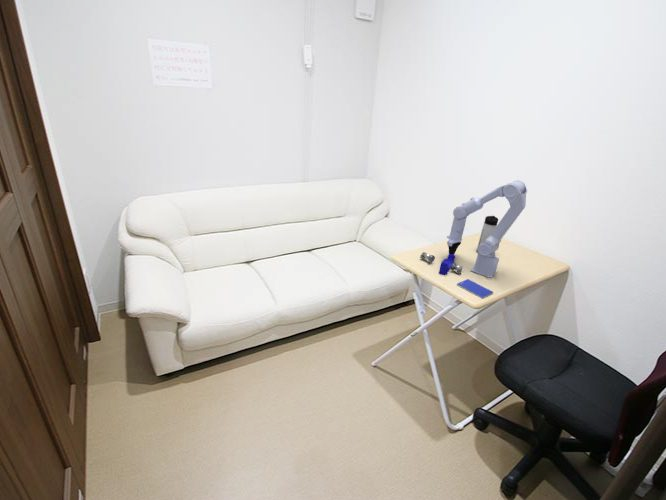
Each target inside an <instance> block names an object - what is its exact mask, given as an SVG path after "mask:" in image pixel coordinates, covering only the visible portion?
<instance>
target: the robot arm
mask: <svg viewBox="0 0 666 500" xmlns="http://www.w3.org/2000/svg"><path fill="white" fill-rule="evenodd" d="M527 193H528V189H527V186H526V183H525V182H523V181H521V180H515V181H513V182H509V183H507V184H505V185H501V186H499V187H497V188H494V189H493V190H491V191H490V192H488V193H486V194H484V195H483V196H482V197H478V196H475V197H474V196H473V197H471V198H470V199H469V200H468V201H466V202H463V203H461V205H459V206H456V207H455V208H454V210H453V212H452V214H453V219H452V223H451V229H450V233H449V235H447V236H446V239H448V241H447V247H448V255H449V254H452V255H455V254H456V252H457V250H458V248H459V246H460V245H461V244H462V240H463V239H462V238H463V234H464V230H465V226H466V222H467V217H469V216H470V215H471V214H474V213H475V212H477V211H479V210H481V209H483V207H484V205H485V204H487V203H488V202H490V201H492V200H495V199H497V198H498V197H501V198H503V197H505V199H507V202H508V204H509V208H508V210H507V211H506V213H505V214H504V215H503V217H502V218H501V219H500V220H499V221H498V223H497V226H496V228H495V229H494V231H493V232H492V233H491V235H490V236H489V237H488V238H487V239H486V240H485V242H484V243H482V244H480V245H479V246H478V245H477V247H478V253H477V256H476V259H475V264H474V266H473V267H472V269H470V271H471V272H472V273H476V274H478V275H481V276H484V277H487V278H493V276H494V275H495V274H496V273H497V268H498V265H499V261H500V258H499V257H497V256H496V251H498V250H499V248H500V247H499V246H500V243H502V239H503V237H504V236H505V235H506V234H507V232H508V231H509V230H510V228H511V227H512V226H513V224H514V223H515V222H516V220H517V219H518V218H519V216H520V214H521V213H522V212H523V210H524V209H525V207H526V202H527Z"/></svg>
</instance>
